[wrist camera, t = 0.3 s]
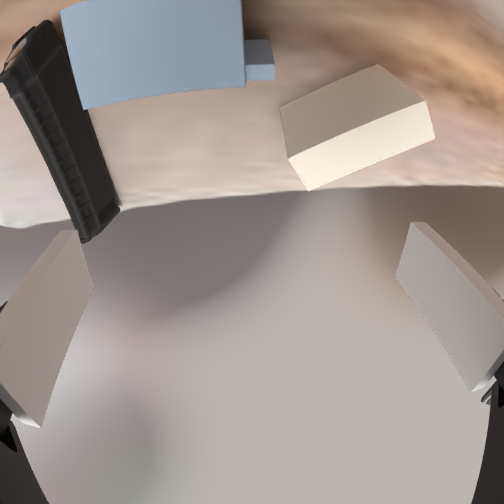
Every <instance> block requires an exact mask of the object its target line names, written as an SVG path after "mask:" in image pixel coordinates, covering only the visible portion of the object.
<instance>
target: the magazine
mask: <svg viewBox="0 0 504 504" xmlns="http://www.w3.org/2000/svg"><path fill="white" fill-rule="evenodd" d="M1 82H3V83H4V85H5V86H6V88H7V90H8V92H9V95H10V98H12V99H13V101H14V102H15V104H16V106H17V108H18V110H19V111H20V113H21V115H22V117H23V119H24V121H25V123H26V124H27V126H28V128H29V130H30V132H31V134H32V136H33V138H34V140H35V142H36V144H37V146H38V148H39V150H40V152H41V154H42V156H43V158H44V160H45V162H46V164H47V166H48V169H49V171H50V173H51V175H52V178H53V180H54V182H55V184H56V187H57V189H58V191H59V193H60V195H61V197H62V199H63V201H64V203H65V205H66V208H67V210H68V212H69V215H70V217H71V220H72V222H73V224H74V227H75V230H77V231H78V235H79V239H80V243H81V244H82V243H86V242H89V241H90V240H91V239H92V238H93V237H94V236H96V235H98V234H99V233H101V232H102V231H103V230H104V228H105V227H106V226H107V225H108V224H109V223H110V222H111V220H112V219H113V218H114V217H115V216H116V215H117V214H118V213H119V212H120V208H119V207H118V205H117V201H116V198H115V195H114V192H113V189H112V186H111V183H110V180H109V176H108V173H107V170H106V166H105V163H104V160H103V157H102V154H101V150H100V147H99V144H98V141H97V138H96V135H95V132H94V129H93V126H92V123H91V120H90V117H89V114H88V111H87V109H86V110H83V107H82V103H81V100H80V96H79V93H78V89H77V86H76V82H75V78H74V74H73V72H72V69H71V67H70V64H69V62H68V59H67V57H66V54H65V52H64V49H63V47H62V41H60V39H59V37H58V35H57V32H56V30H55V28H54V26H53V23H52V22H51V21H50V20H44V21H43V22H41V23H40V24H39V25H38V26H37V27H35V26H33V27H32V28H31V29H30V30H28V31H27V32H26V33H25V34H24V35H23V36H22V37H21V38H20V39H19V40H17V41H16V42H15V43H14V44H13V47H12V52H11V53H10V55H9V56H8V58H7V60H6V63H4V69H3V71H2V72H1V74H0V83H1Z"/></svg>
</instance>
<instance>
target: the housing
mask: <svg viewBox="0 0 504 504" xmlns="http://www.w3.org/2000/svg"><path fill="white" fill-rule="evenodd" d="M60 15H61V20H62V25H63V31H64V35H65V40H66V45H67V49H68V54H69V58H70V62H71V66H72V70H73V74H74V78H75V82H76V86H77V89H78V93H79V96H80V100H81V103H82V107H83V110H86V109H90V108H94V107H98V106H102V105H107V104H111V103H116V102H121V101H126V100H131V99H137V98H143V97H149V96H155V95H162V94H169V93H176V92H185V91H194V90H204V89H216V88H231V87H245V85H246V81H253V80H275V62H274V58H273V54H272V49H271V45H270V41H269V39H254V40H244V35H243V17H242V0H85V1H82V2H80V3H77V4H75V5H73V6H70V7H68V8H66V9H63V10H61V11H60Z"/></svg>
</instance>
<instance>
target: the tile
mask: <svg viewBox="0 0 504 504" xmlns="http://www.w3.org/2000/svg"><path fill="white" fill-rule="evenodd" d="M280 113H281V119H282V125H283V131H284V138H285V144H286V151H287V158H288V160H289V162H290V163H291V165H292V166H293V168H294V169H295V171H296V172H297V174H298V176H299V177H300V179H301V180H302V182H303V183H304V185H305V187H306V188H307V190H308V191H310V190H312V189H315V188H317V187H319V186H322V185H324V184H326V183H329V182H331V181H333V180H336V179H338V178H340V177H343V176H345V175H347V174H350V173H352V172H355V171H357V170H359V169H362V168H364V167H366V166H369V165H371V164H374V163H376V162H379V161H381V160H383V159H386V158H388V157H391V156H393V155H396V154H398V153H401V152H403V151H406V150H408V149H411V148H413V147H416V146H418V145H421V144H423V143H426V142H428V141H431V140H434V139H435V135H434V131H433V127H432V123H431V119H430V116H429V112H428V108H427V105H426V101H425V100H424V99H423V98H422V97H420V96H419V95H418V94H417V93H416V92H414V91H413V90H412V89H411V88H410V87H408V86H407V85H406V84H405V83H403V82H402V81H401V80H399V79H398V78H397V77H395V76H394V75H393V74H391V73H390V72H389V71H387V70H386V69H385V68H383V67H382V66H381V65H379V64H376V65H373V66H371V67H368V68H366V69H363V70H361V71H358V72H356V73H353V74H351V75H348V76H346V77H344V78H341V79H339V80H337V81H334V82H332V83H330V84H328V85H325V86H323V87H321V88H319V89H317V90H314V91H312V92H310V93H308V94H306V95H304V96H302V97H300V98H297V99H295V100H293V101H291V102H289V103H287V104H285V105H283V106H281V107H280Z"/></svg>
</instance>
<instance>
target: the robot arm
mask: <svg viewBox="0 0 504 504" xmlns="http://www.w3.org/2000/svg"><path fill="white" fill-rule="evenodd" d="M395 277H396V278H397V280H398V281H399V283H400V284H401V285H402V287H403V288H404V290H405V291H406V292H407V294H408V295H409V297H410V298H411V300H412V301H413V302H414V304H415V305H416V307H417V308H418V310H419V311H420V313H421V314H422V315H423V317H424V318H425V320H426V321H427V323H428V324H429V326H430V327H431V329H432V330H433V332H434V334H435V335H436V337H437V338H438V340H439V341H440V343H441V344H442V346H443V347H444V349H445V350H446V352H447V354H448V355H449V357H450V359H451V360H452V362H453V364H454V365H455V367H456V368H457V370H458V372H459V374H460V375H461V377H462V379H463V381H464V382H465V384H466V386H467V388H468V389H469V391H470V393H471V392H474V391H476V390H478V389H480V388H483V387H484V386H485V385H486V384H487V383H488V381H489V380H490V379H491V378H492V377H493V375H494V376H495V378H496V379H497V381H496V382H495V383H494V384H493V385H492V387H491V388H490V389H489V390H488V391H487V392H486V394H485V395H484V396H483V397H482V399H481V402H484V401H485V400H486V399H487V398H488V397H489V396H490V395H491V398H490V399H489V400H488V401H487V403H486V404H489V405H491V406H490V416H489V424H488V432H487V438H486V444H485V450H484V455H483V460H482V465H481V469H480V474H479V478H478V482H477V486H476V490H475V493H474V497H473V500H472V503H471V504H504V300H503V299H501V297H500V296H499V294H498V293H497V292H496V291H495V290H494V289H493V288H492V287H491V286H490V285H489V284H488V283H487V282H486V281H485V280H484V279H483V278H482V277H481V276H480V275H479V274H478V273H477V271H476V270H475V269H474V268H473V267H472V266H471V265H470V264H469V263H468V262H467V261H466V260H465V259H464V258H463V257H462V256H461V255H460V254H459V253H458V252H457V251H455V250H454V249H453V248H452V247H451V246H450V245H449V244H448V243H447V242H446V241H445V240H444V239H443V238H442V237H441V236H439V235H438V234H437V233H436V232H435V231H434V230H433V229H432V228H431V227H430V226H428V225H427V224H426V223H425V222H411V225H410V228H409V232H408V235H407V239H406V242H405V246H404V249H403V253H402V256H401V259H400V263H399V266H398V269H397V272H396V275H395ZM93 289H94V287H93V284H92V281H91V277H90V274H89V271H88V267H87V264H86V261H85V257H84V254H83V250H82V246H81V243H80V239H79V235H78V231H77V230H65V231H60V232H59V234H58V235H57V236H56V237H55V238H54V240H53V241H52V242H51V243H50V245H49V246H48V247H47V248H46V250H45V251H44V252H43V253H42V255H41V256H40V257H39V259H38V260H37V261H36V263H35V264H34V265H33V267H32V268H31V269H30V270H29V272H28V273H27V275H26V276H25V277H24V279H23V280H22V282H21V283H20V284H19V286H18V287H17V289H16V290H15V292H14V293H13V295H12V296H11V297H10V299H9V301H7V302H6V303H4V304H3V305H2V306H1V307H0V504H49V503H48V501H47V500H46V497H45V495H44V494H43V492H42V490H41V488H40V486H39V484H38V482H37V479H36V477H35V475H34V473H33V471H32V469H31V466H30V464H29V462H28V459H27V457H26V455H25V452H24V450H23V447H22V444H21V442H20V439H19V436H18V434H17V431H16V428H15V426H14V424H13V422H12V421H11V420H10V419H11V416H12V413H13V414H14V415H15V416H16V417H17V418H18V419H19V420H20V421H21V422H22V423H25V424H28V425H32V426H35V427H39V428H41V427H42V424H43V421H44V417H45V414H46V410H47V407H48V404H49V401H50V397H51V394H52V391H53V388H54V385H55V382H56V379H57V376H58V374H59V371H60V368H61V365H62V362H63V360H64V357H65V355H66V352H67V349H68V347H69V344H70V342H71V339H72V337H73V335H74V332H75V330H76V327H77V325H78V323H79V320H80V318H81V315H82V313H83V311H84V309H85V307H86V304H87V302H88V300H89V298H90V296H91V293H92V291H93Z"/></svg>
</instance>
